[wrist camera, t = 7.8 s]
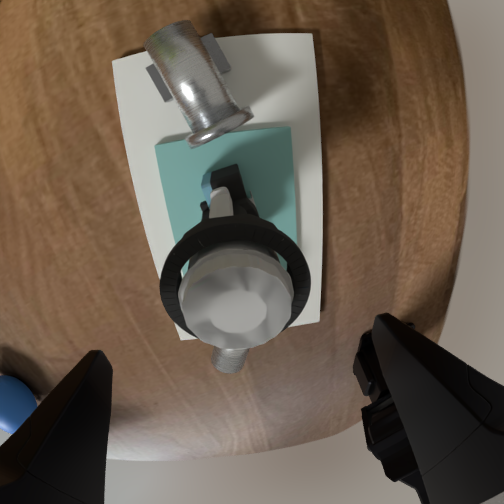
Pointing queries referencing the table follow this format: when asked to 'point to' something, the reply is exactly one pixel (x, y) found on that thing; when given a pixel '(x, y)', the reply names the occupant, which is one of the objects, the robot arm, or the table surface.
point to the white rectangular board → (232, 148)
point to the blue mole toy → (14, 403)
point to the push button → (233, 271)
